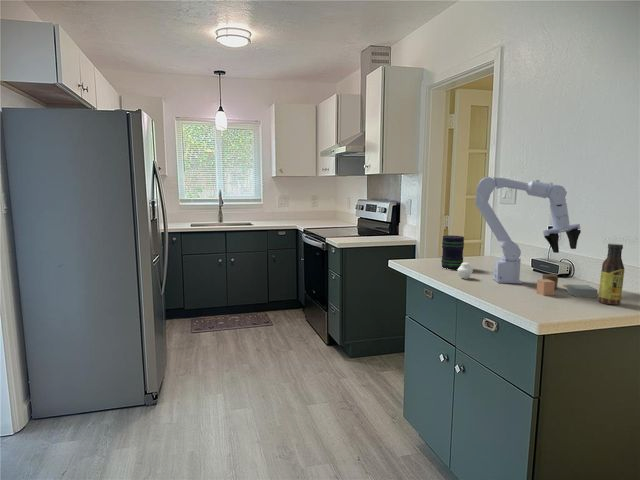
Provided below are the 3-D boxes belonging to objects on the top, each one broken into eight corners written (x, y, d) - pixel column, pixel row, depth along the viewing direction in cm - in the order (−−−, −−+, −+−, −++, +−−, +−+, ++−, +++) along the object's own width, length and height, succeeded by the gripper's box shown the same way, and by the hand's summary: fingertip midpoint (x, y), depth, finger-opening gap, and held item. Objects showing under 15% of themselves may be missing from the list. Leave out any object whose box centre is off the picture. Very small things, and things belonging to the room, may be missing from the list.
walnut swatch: (568, 288, 159) (568, 287, 159) (562, 285, 164) (562, 284, 164) (582, 289, 159) (582, 288, 159) (576, 286, 163) (576, 285, 163)
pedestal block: (575, 297, 149) (576, 288, 148) (566, 292, 156) (567, 284, 155) (596, 298, 148) (597, 289, 147) (587, 293, 155) (588, 285, 154)
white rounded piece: (467, 280, 173) (468, 263, 172) (454, 278, 177) (455, 261, 176) (475, 278, 177) (476, 262, 176) (462, 276, 181) (462, 260, 180)
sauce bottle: (613, 306, 136) (619, 245, 134) (593, 301, 142) (599, 243, 139) (625, 304, 139) (631, 244, 137) (605, 299, 145) (610, 242, 142)
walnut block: (545, 289, 159) (546, 276, 159) (541, 286, 163) (542, 273, 162) (557, 289, 159) (558, 276, 158) (552, 287, 162) (553, 274, 162)
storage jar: (465, 270, 194) (467, 238, 192) (444, 270, 194) (445, 238, 192) (459, 266, 204) (460, 235, 202) (438, 266, 204) (439, 235, 202)
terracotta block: (543, 295, 150) (544, 282, 149) (536, 292, 154) (537, 279, 153) (553, 295, 150) (554, 281, 149) (546, 292, 154) (547, 279, 153)
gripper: (550, 219, 157) (555, 254, 158) (584, 212, 159) (589, 247, 160) (537, 219, 164) (542, 253, 165) (570, 213, 166) (575, 246, 167)
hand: (564, 250), depth 163 cm, fingers open, 7 cm apart
